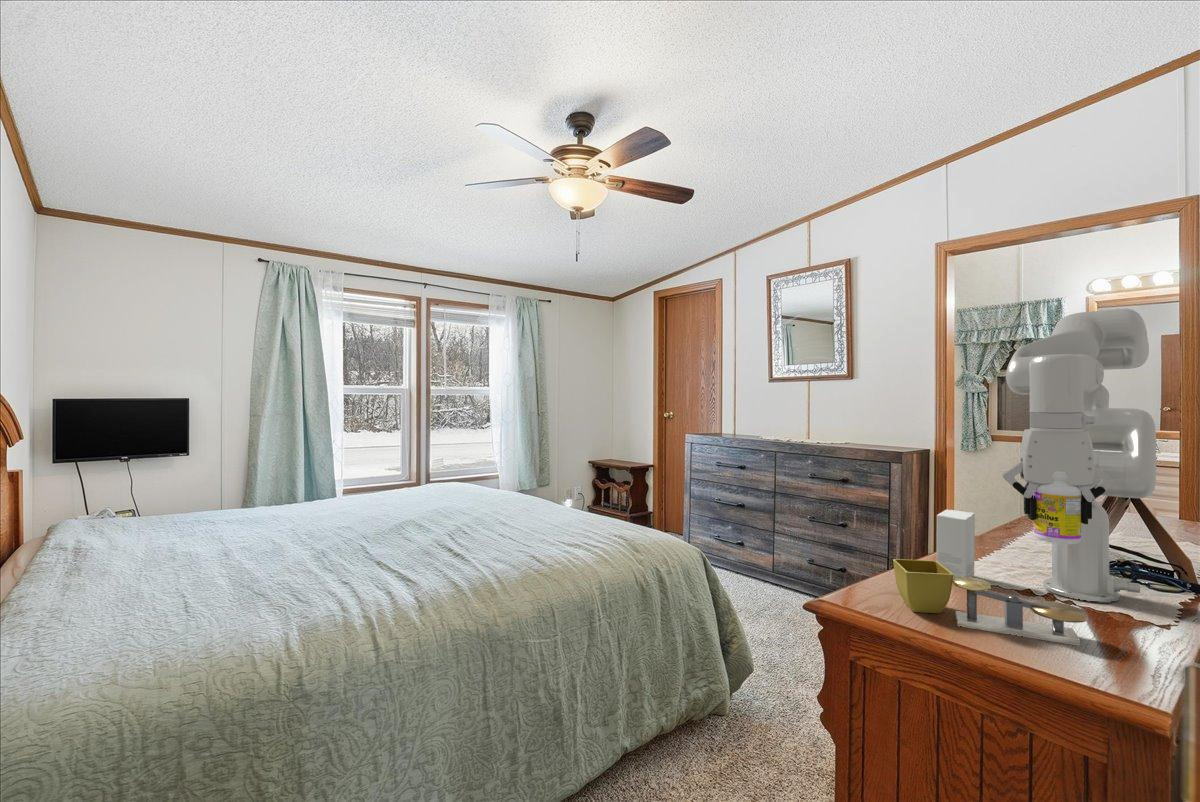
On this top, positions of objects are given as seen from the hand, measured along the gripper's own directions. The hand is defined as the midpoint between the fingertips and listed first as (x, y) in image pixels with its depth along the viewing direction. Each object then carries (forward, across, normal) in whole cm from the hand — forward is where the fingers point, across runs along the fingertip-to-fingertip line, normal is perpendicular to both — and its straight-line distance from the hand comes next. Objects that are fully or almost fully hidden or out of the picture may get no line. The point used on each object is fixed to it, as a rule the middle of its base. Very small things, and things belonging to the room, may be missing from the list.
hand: (1056, 519), depth 99 cm
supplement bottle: (+4, 0, 0) cm, 4 cm away
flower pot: (+22, +21, -4) cm, 31 cm away
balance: (+21, +6, 0) cm, 22 cm away
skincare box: (+22, +14, -30) cm, 39 cm away
